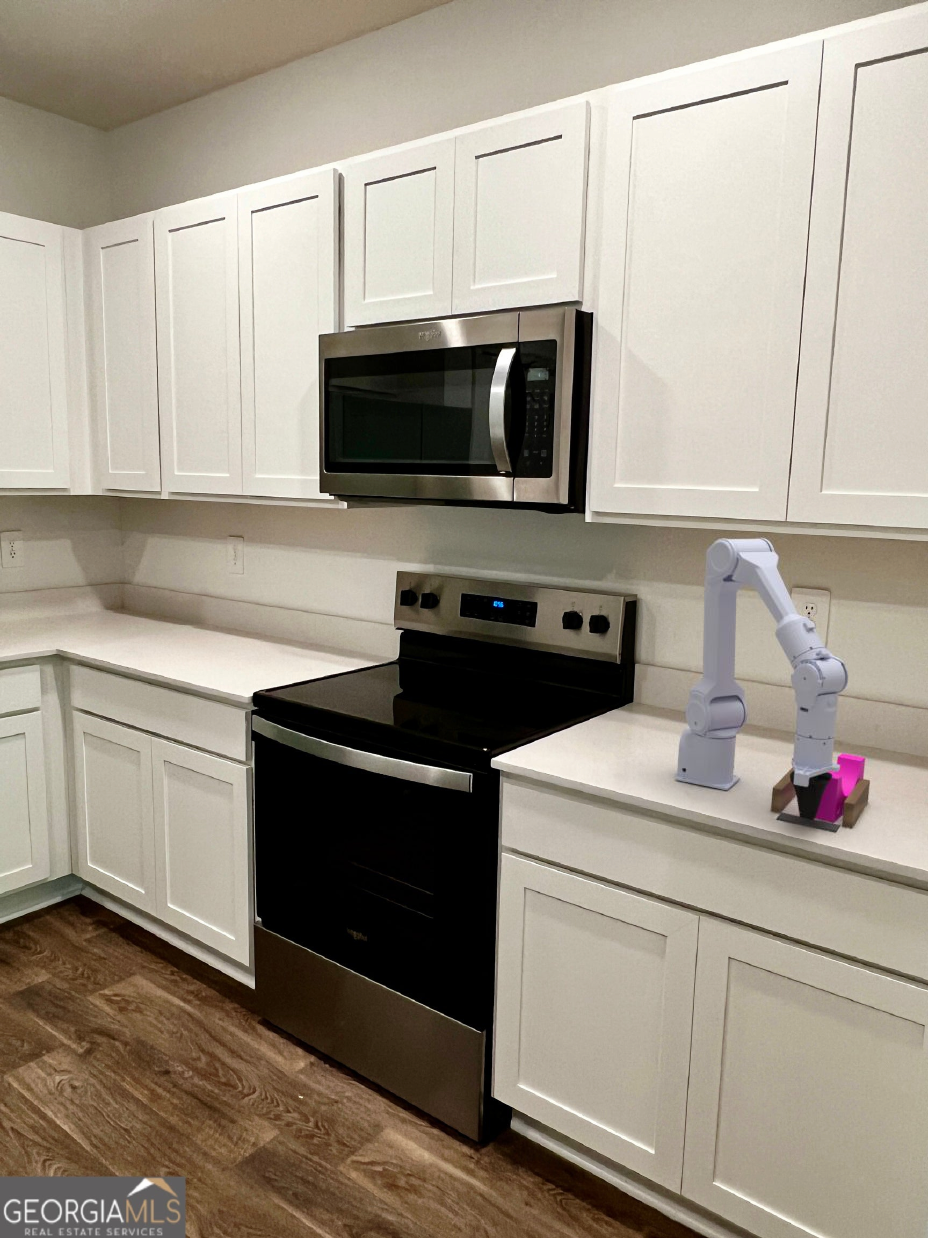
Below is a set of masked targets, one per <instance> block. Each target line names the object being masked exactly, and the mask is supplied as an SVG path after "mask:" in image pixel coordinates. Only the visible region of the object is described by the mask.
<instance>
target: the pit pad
mask: <svg viewBox="0 0 928 1238" xmlns="http://www.w3.org/2000/svg"><path fill="white" fill-rule="evenodd" d="M776 820H777V821H781V822H785V823H791V824H794V825H799V826H804V827H807V828H814V829H818V830H824V831H826V832H827V831H828V832H831V833H837V832H838V830H839V829H840V827H841V825H840V824H839V823H838V824H837V823H832V822H828V821H824V820H820V819H816V818H814V820H810V819H806V818H801V817H800V815H797V814H796V815H795V814H790V813H786V812H783V811H782V812H781V813H778V816H777V817H776Z"/></svg>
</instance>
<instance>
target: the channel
mask: <svg viewBox="0 0 928 1238" xmlns="http://www.w3.org/2000/svg"><path fill="white" fill-rule="evenodd" d="M792 771H794V769H793V766H792V767H791V768H790V769H789V771H787V773H786V774H784V776H783V777H781V778H780V780H778V781H777V783H776V784H775V785H774V786H773V787H772V791H771V804H770V805H771V806H770V812H772V813H777V814H780V813H781V812H782V813H783V810H785V808H786V807H787V806H788V805H789V804H790V802H791V801H792V800H793V799H794V798H795V797H797V796H796V792H795V789H794V786H793V784H792V782H791V780H790V774H791V773H792ZM870 784H871V780H869V779H864V778H863V779H860V780H859V781H858V783H857V784H856V786H855V787H854V789H853V790H852V792H851V793H850V794H849V796H848V797H847V799H846V800H845V802H844V809H843V816H842V821H841V822H842V823H841V827H842V828H847V829H853V828H854V826H855V824H856V823H857V821H858V819H859V818H860V817H861V815H862V813H863V811H864V810H865V808H866V806H868V804H869V794H870V787H871V786H870Z"/></svg>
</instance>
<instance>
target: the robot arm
mask: <svg viewBox="0 0 928 1238" xmlns="http://www.w3.org/2000/svg"><path fill="white" fill-rule="evenodd" d="M705 557H706V558H705V559H706V561H705V578H704V590H703V591H704V594H703V595H704V596H703V599H704V600H703V637H702V638H703V640H702V641H703V643H702V644H703V646H702V679H701V680H699V681H698V683H696V684H695V685H694V686H693V687H692V688H691V689H690V690H689V695H688V696H689V699H688V703H687V705H686V709H685V721H686V723H687V725H688V727H689V728H685V729H684V730H683V731H682V733H681V735H680V739H679V743H678V756H677V770H676V771H677V772H676V773H677V774H676V776H675V780H676V781H680V782H684V783H689V784H693V785H699V786H704V787H708V788H714V789H719V790H723V791H728V790H730V789H731V788H732V787H733V786H734V785H735V784H736V783H738V781H740V780H741V776H739V775H735V774H734V771H735V758H736V757H735V756H736V744H737V743H736V741H737V735H739V734H740V731H741V728H743V727H744V726H745V725H746V723H747V720H748V716H749V710H748V707H747V704H746V699H745V698H746V697H745V689H744V688H743V687H742V686H741V685H740V684H739V683H738V682H737V681H736V680H735V671H736V663H735V662H736V635H737V634H736V629H737V628H736V624H737V623H736V622H737V621H736V620H737V593H738V591H740V589H742V587H744V586H745V585H747V586H750V587H753V588H754V590H755V591H756V592H757V594H758V595H759V598H760V599H761V600H762V602H763V604H764V605H765V607H766V608H767V609H768V611H769V613H770V614H771V617H772V618H773V619H774V620H775V622H776V623H777V625H776V629H775V633H774V634H775V637H776V639H777V641H778V643H779V645H780V647H781V648H782V650H783V653H784V654H785V657H786V658H787V660H788V661H789V664H790V665H791V667H792V669H793V673H792V674H790V682H791V685H792V686H791V687H792V688H793V690H794V694H795V697H794V701H795V702H796V703H795V704H796V705H797V708H796V720H795V721H796V722H795V731H794V732H795V734H794V742H793V743H794V744H793V757H791V766H792V767H793V769H794V771H792V773H791V774H790V780H791V782H792V784H793V786H794V789H795V792H796V796H795V797H796V801H797V808H798V813H799V815H798V816H800V817H801V818H806V819H810V820H814V819H816V818H815V817H816V814H817V812H818V809H819V805H820V802H821V798H822V795H823V793H824V790H825V788H826V786H827V784H828V783H829V781H830V780H831V778H832V774H831V773H828V772H829V771H834V772H838V771H839V770H840V765H839V764H837V763H833V757H834V756H833V755H834V746H835V745H834V744H835V737H836V736H835V733H836V724H837V723H836V722H837V712H838V711H837V710H838V699H839V694H841V693H842V692H843V691H845V689H846V688H847V686H848V683H849V673H848V670H847V667H846V663H845V662H844V661H843V660H842V659H841V658H839V657H837V656H835V655H834V654H833V653H832V652H830V651H828V649H827V647H826V646H825V644H824V643H823V641H822V639H821V637H820V636H819V634H818V632H817V630H816V625H815V624H814V622H813V621H812V620H810V618H809V617H807V616H803V615H800V614H798V611H797V609H796V607H795V604H794V602H793V600H792V598H791V596H790V593H789V591H788V590H787V588H786V585H785V582H784V580H783V578H782V576H781V574H780V572H779V570H778V565H779V559H780V557H779V555H778V554H777V553H776V552H775V549H774V546H773V544H772V542H771V541H769V539H766V538H765V537H757V538H723V537H722V538H719V539H717V540H715V541H714V542H713V543H712V544H711V546H709V548H707V549H706V553H705Z"/></svg>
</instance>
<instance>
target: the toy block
mask: <svg viewBox="0 0 928 1238" xmlns="http://www.w3.org/2000/svg"><path fill="white" fill-rule="evenodd" d="M836 760H837V761H836V764H839V765H840V770H839V771H838V772H834V771H829V772H828V773H831V774H832V778H831V780H830V781H829V783H828V784H827V786H826V788H825V790H824V793H823V795H822V798H821V802H820V805H819V809H818V812H817V814H816V817H815V818H814V819H815V820H820V821H824V822H829V823H834V824H836V822H837V821H838V820H839V819H841V818H842V817H843V809H844V802H845V800H846V799H847V797H848V796H849V794H850V793H851V792H852V790H853V789H854V787H855V786H856V784H857V783H858V781H859V780H860V779H864V776H865V765H866V757H864V756H859V755H853V754H848V753H844V752H843V753H840V755H838V756H837V759H836Z"/></svg>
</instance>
